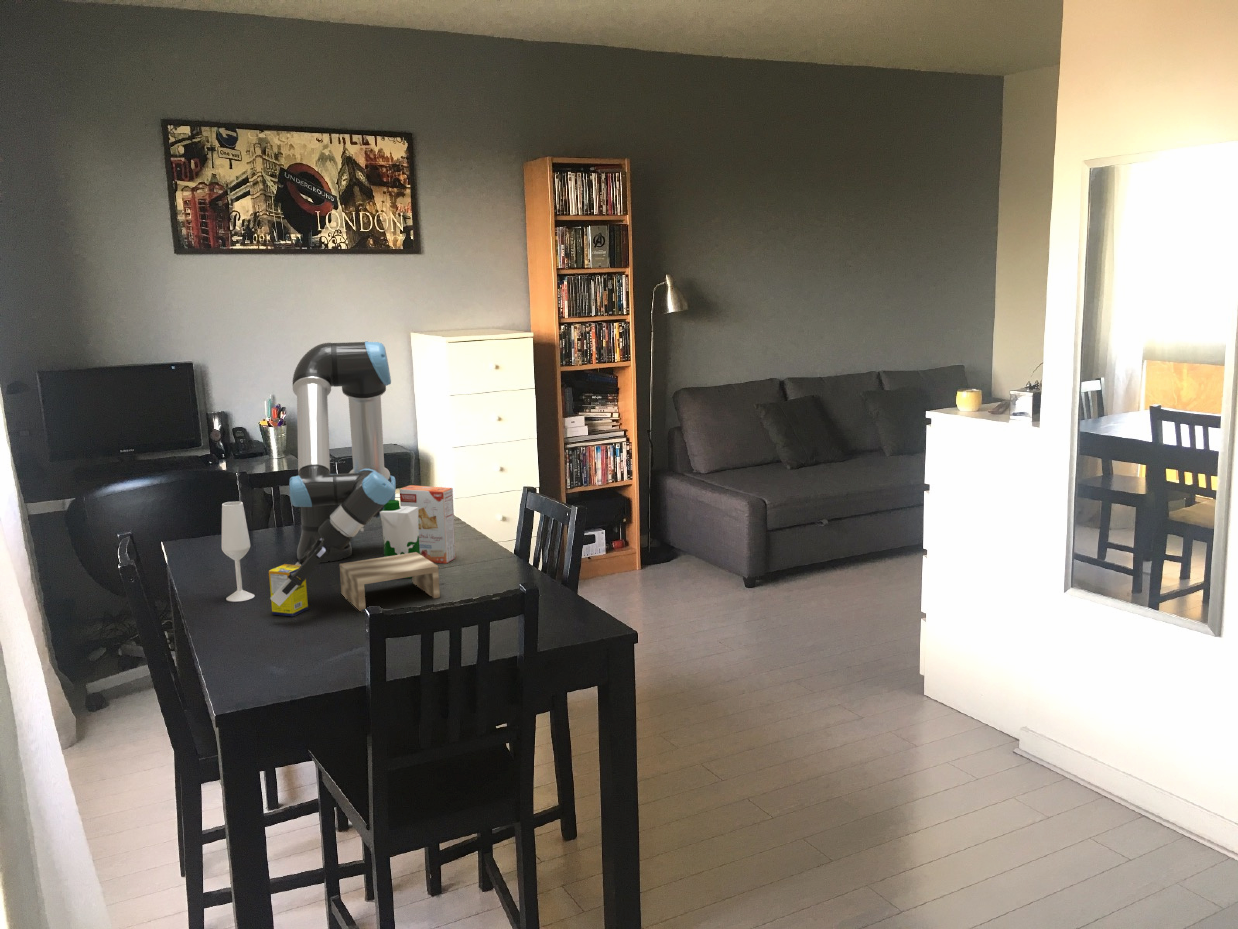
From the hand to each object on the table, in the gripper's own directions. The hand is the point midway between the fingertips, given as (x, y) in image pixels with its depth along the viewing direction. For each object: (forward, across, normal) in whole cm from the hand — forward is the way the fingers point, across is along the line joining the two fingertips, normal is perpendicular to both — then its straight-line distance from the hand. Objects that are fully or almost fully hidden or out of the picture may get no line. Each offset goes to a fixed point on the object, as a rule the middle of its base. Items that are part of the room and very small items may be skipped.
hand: (279, 593), depth 229 cm
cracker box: (-21, +40, -28) cm, 53 cm away
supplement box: (+2, 0, -5) cm, 5 cm away
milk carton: (-16, +26, -23) cm, 39 cm away
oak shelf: (-14, +7, -21) cm, 27 cm away
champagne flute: (+12, +15, +5) cm, 20 cm away
